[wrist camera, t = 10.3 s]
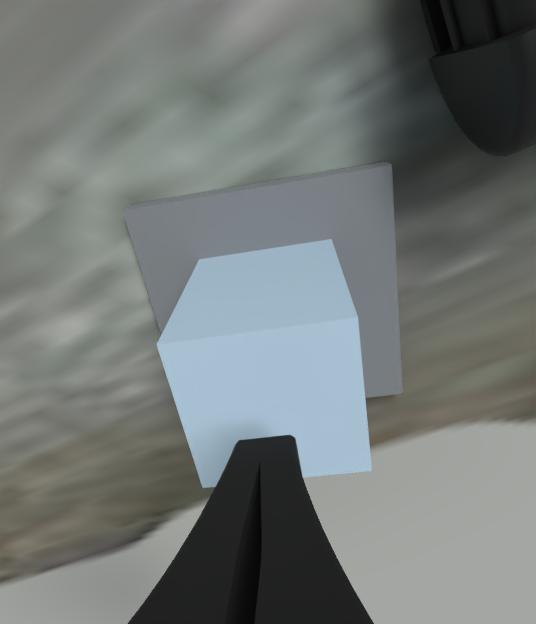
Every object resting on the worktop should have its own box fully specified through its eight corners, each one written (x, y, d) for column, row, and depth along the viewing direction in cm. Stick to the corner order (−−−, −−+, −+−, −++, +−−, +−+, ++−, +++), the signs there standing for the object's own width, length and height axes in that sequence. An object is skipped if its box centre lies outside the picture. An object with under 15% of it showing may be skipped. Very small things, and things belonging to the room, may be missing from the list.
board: (386, 161, 17) (392, 165, 16) (397, 380, 21) (402, 393, 20) (130, 204, 18) (122, 210, 17) (191, 405, 22) (187, 419, 21)
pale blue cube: (331, 239, 17) (357, 317, 11) (344, 354, 19) (371, 470, 13) (199, 259, 17) (156, 344, 12) (226, 369, 20) (202, 488, 14)
